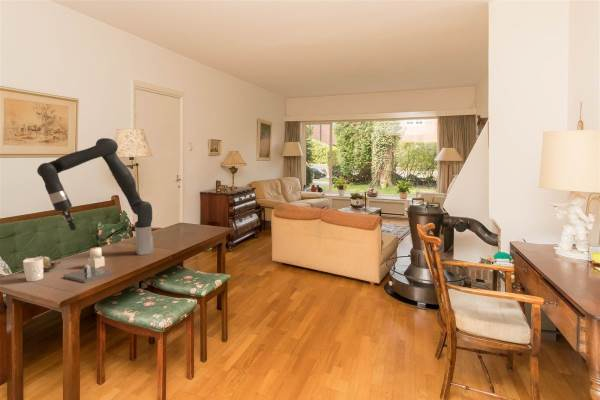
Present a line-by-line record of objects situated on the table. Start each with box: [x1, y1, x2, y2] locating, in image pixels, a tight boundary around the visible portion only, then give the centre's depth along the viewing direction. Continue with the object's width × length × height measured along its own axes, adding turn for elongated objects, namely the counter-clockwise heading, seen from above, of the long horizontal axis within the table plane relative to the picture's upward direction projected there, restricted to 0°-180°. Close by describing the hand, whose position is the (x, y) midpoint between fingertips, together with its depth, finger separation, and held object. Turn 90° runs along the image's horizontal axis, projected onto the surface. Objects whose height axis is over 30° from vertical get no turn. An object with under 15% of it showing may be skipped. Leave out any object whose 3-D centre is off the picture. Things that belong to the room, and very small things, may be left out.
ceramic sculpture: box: [24, 254, 62, 271], centre depth 180 cm, size 11×9×15 cm
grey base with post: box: [63, 263, 112, 284], centre depth 172 cm, size 14×16×6 cm
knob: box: [87, 246, 106, 268], centre depth 186 cm, size 6×6×10 cm
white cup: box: [22, 257, 44, 283], centre depth 166 cm, size 8×8×10 cm
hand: (73, 229), depth 177 cm, fingers open, 8 cm apart
